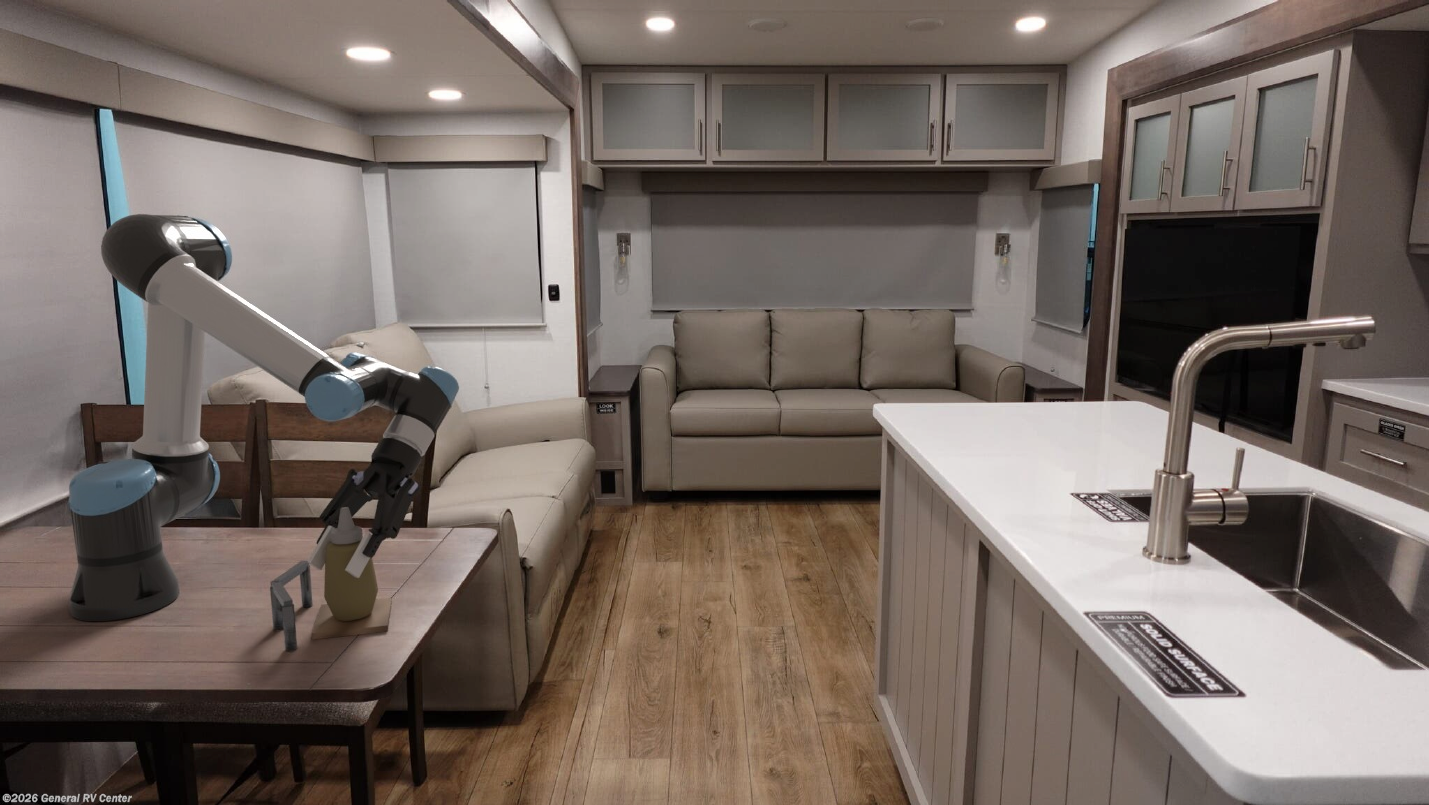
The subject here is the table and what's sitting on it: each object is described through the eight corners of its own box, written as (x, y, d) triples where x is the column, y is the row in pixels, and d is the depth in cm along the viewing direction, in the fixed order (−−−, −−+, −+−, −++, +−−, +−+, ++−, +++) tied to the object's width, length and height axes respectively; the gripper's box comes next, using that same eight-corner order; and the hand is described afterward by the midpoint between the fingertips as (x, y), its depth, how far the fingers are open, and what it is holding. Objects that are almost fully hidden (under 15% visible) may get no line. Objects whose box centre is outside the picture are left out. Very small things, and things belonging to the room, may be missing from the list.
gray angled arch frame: (262, 654, 125) (258, 605, 123) (283, 606, 141) (279, 561, 140) (296, 650, 126) (292, 601, 125) (313, 603, 142) (310, 559, 141)
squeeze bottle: (390, 609, 138) (383, 504, 135) (351, 629, 131) (342, 519, 128) (355, 600, 142) (346, 498, 138) (314, 619, 134) (304, 512, 131)
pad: (311, 639, 130) (311, 633, 129) (321, 610, 140) (321, 604, 140) (387, 631, 133) (387, 625, 133) (391, 603, 143) (391, 597, 143)
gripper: (460, 466, 142) (395, 590, 131) (369, 452, 150) (300, 569, 138) (438, 442, 136) (368, 570, 125) (344, 429, 144) (270, 549, 132)
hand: (332, 569), depth 131 cm, fingers open, 7 cm apart
